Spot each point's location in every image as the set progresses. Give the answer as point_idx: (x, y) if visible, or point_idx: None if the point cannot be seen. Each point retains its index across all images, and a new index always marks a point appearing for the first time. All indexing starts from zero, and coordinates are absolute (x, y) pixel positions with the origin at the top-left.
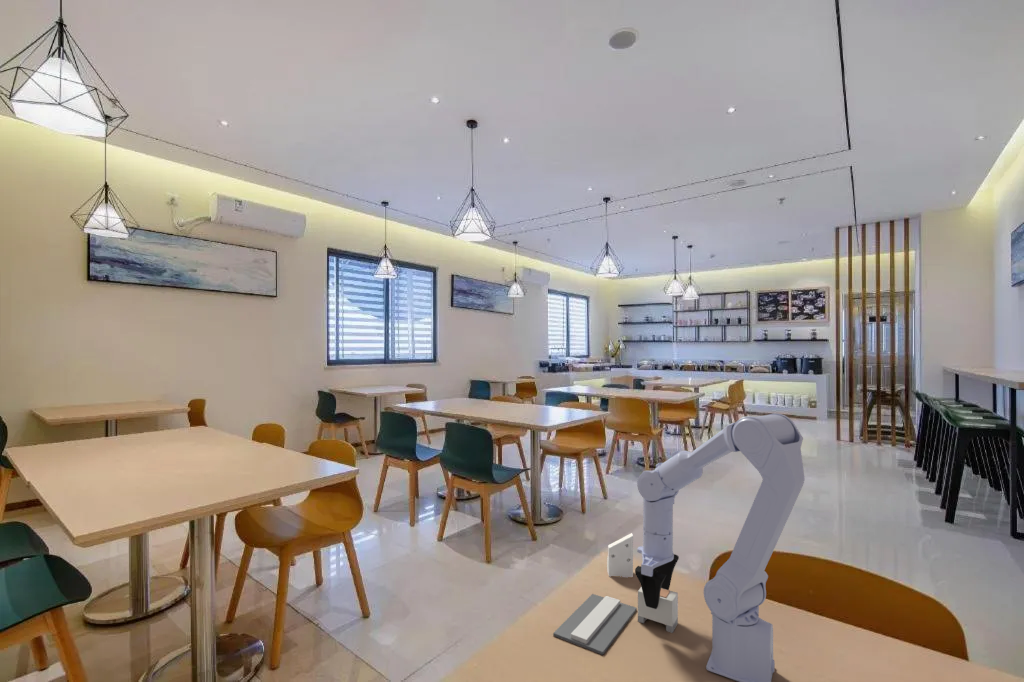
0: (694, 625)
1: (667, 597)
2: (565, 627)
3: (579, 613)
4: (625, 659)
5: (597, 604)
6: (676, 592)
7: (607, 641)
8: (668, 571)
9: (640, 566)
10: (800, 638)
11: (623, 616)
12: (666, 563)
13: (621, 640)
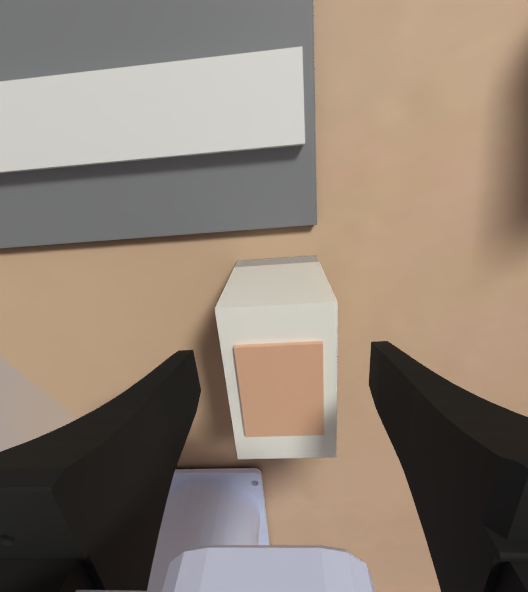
0: (338, 407)
1: (257, 436)
2: None
3: (77, 6)
4: (18, 311)
5: (220, 42)
6: (335, 452)
7: (18, 236)
8: (416, 487)
9: (57, 511)
10: (425, 576)
11: (212, 208)
12: (446, 537)
13: (87, 262)
